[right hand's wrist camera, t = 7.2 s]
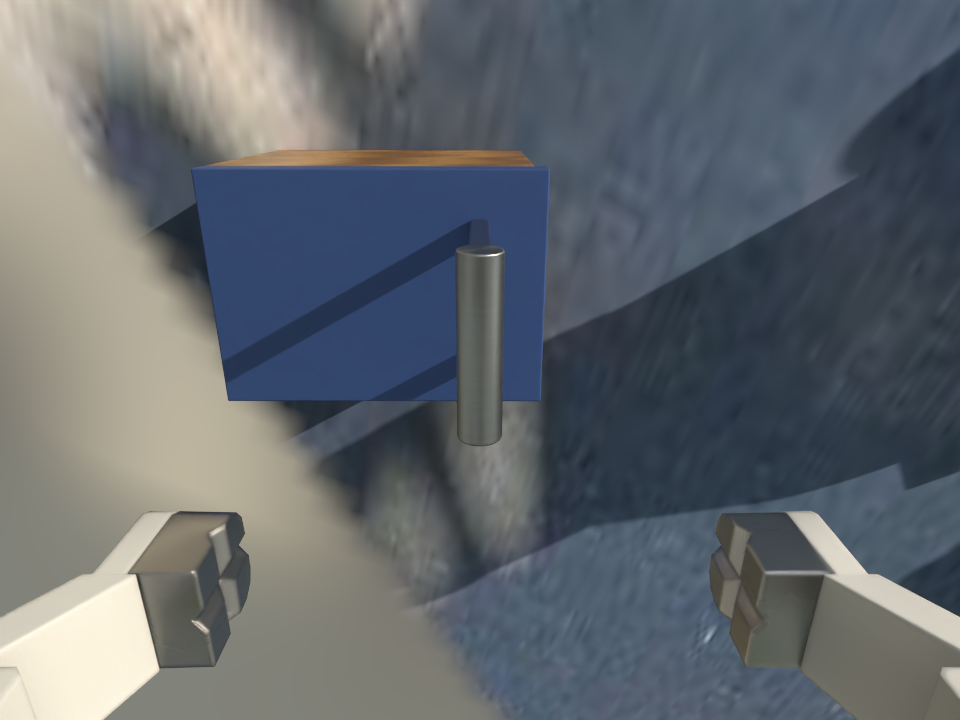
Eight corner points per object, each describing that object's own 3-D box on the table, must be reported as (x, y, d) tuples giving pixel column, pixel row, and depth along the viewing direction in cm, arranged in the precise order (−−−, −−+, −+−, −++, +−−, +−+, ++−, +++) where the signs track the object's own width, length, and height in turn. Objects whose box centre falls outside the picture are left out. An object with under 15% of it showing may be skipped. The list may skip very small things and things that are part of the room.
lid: (546, 166, 25) (577, 191, 17) (538, 389, 28) (560, 493, 21) (204, 165, 25) (81, 191, 17) (238, 388, 28) (149, 492, 21)
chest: (520, 150, 34) (535, 166, 25) (516, 320, 38) (528, 388, 28) (278, 150, 34) (204, 165, 25) (297, 320, 38) (238, 388, 28)
